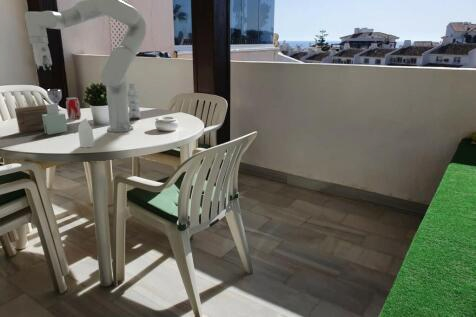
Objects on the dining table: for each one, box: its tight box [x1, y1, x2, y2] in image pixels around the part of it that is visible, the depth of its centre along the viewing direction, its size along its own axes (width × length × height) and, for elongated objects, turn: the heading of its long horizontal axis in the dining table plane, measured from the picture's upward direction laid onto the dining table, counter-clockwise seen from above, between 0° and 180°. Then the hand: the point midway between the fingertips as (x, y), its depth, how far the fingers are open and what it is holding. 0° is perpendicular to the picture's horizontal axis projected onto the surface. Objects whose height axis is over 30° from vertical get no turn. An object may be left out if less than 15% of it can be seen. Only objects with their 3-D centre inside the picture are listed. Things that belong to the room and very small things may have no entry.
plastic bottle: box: [127, 83, 141, 120], centre depth 205 cm, size 6×7×20 cm
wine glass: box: [46, 88, 63, 105], centre depth 218 cm, size 8×8×15 cm
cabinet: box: [42, 103, 68, 135], centre depth 174 cm, size 5×9×14 cm, turn 136°
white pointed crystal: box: [77, 118, 95, 149], centre depth 151 cm, size 6×12×6 cm
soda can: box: [65, 96, 82, 120], centre depth 206 cm, size 7×7×12 cm
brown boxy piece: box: [14, 104, 47, 134], centre depth 180 cm, size 11×16×12 cm
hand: (45, 78), depth 169 cm, fingers open, 9 cm apart
